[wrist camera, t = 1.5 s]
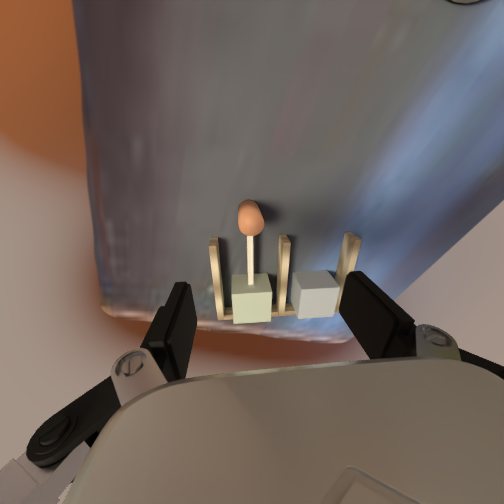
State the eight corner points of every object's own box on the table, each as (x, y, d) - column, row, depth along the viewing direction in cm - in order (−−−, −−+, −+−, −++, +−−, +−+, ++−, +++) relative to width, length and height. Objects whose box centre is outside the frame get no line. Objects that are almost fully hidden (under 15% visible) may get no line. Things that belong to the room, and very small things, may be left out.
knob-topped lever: (226, 200, 27) (224, 212, 22) (269, 199, 28) (277, 210, 22) (233, 302, 36) (233, 328, 31) (266, 300, 36) (271, 326, 31)
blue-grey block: (292, 271, 34) (301, 289, 29) (326, 269, 34) (340, 287, 30) (290, 298, 37) (297, 318, 32) (321, 296, 37) (333, 316, 33)
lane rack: (211, 237, 30) (208, 246, 27) (351, 232, 31) (362, 239, 28) (219, 311, 37) (218, 324, 34) (334, 304, 38) (341, 316, 35)
